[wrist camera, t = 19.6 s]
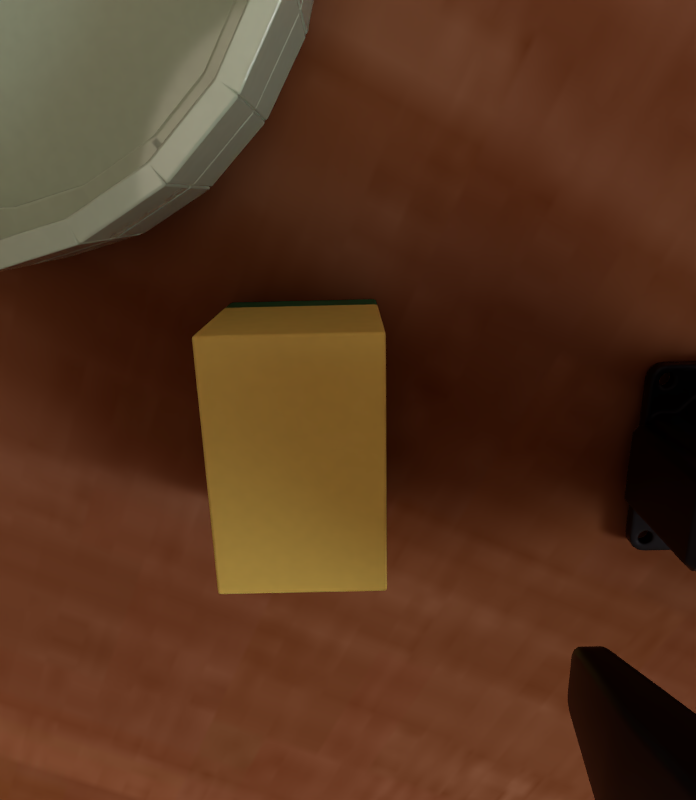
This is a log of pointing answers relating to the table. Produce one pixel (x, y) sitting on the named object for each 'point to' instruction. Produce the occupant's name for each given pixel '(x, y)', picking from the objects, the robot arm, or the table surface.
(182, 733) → the table surface
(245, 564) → the sponge
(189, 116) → the bowl
